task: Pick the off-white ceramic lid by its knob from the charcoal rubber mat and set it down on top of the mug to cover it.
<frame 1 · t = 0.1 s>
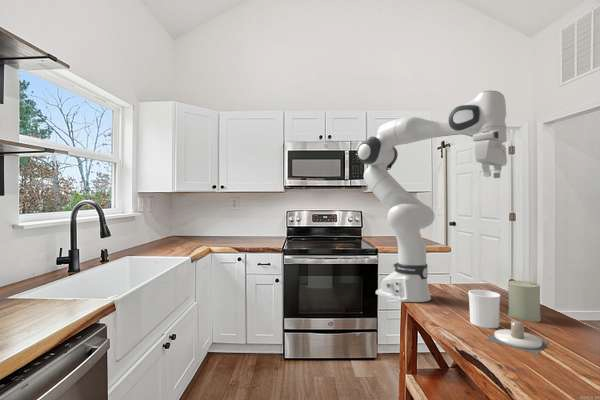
hand: (492, 177, 114), 48 cm above the table, fingers open, 8 cm apart
mat: (517, 343, 91), on the table
can: (524, 317, 112), on the table
mug: (481, 325, 106), on the table
lid: (517, 340, 91), point 1 cm above the table, touching mat
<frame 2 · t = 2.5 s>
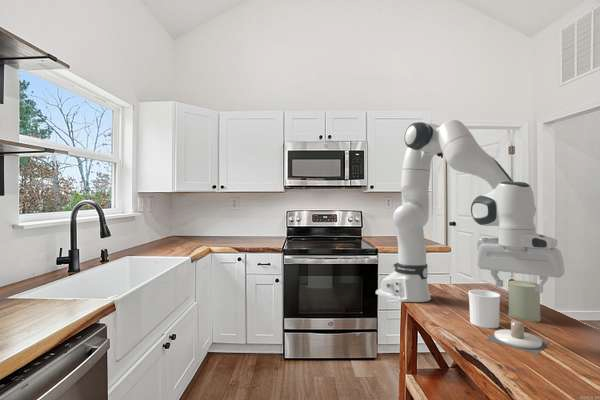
hand: (518, 289, 91), 15 cm above the table, fingers open, 8 cm apart
nothing on the table moved.
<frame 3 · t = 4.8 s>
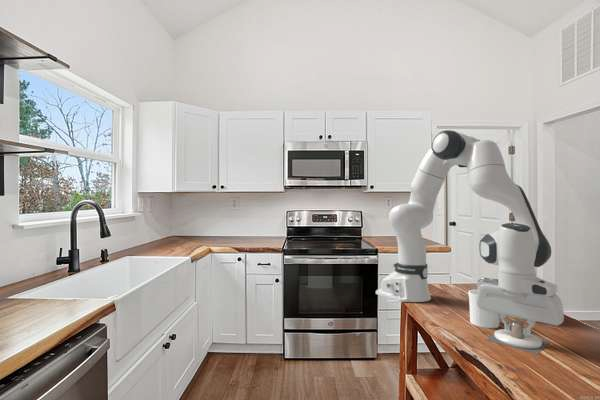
hand: (517, 332, 91), 3 cm above the table, fingers closed on lid, 3 cm apart
lid: (517, 340, 91), point 1 cm above the table, touching gripper, mat
everything else where it was.
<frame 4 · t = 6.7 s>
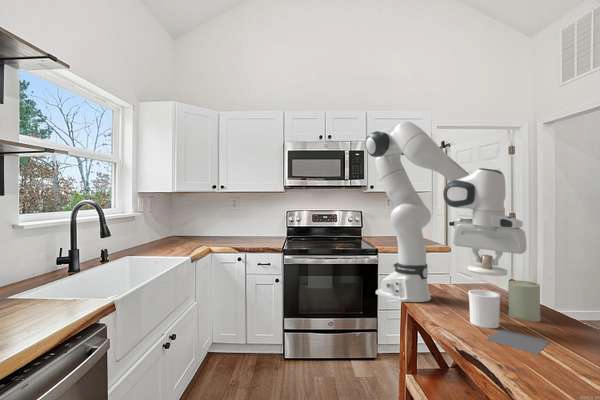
hand: (486, 264, 103), 20 cm above the table, fingers closed on lid, 3 cm apart
lid: (486, 271, 103), point 17 cm above the table, touching gripper
everything else where it was.
when the fingers open (14 cm above the table, at t = 9.0 s): lid drops 1 cm, resting on mug.
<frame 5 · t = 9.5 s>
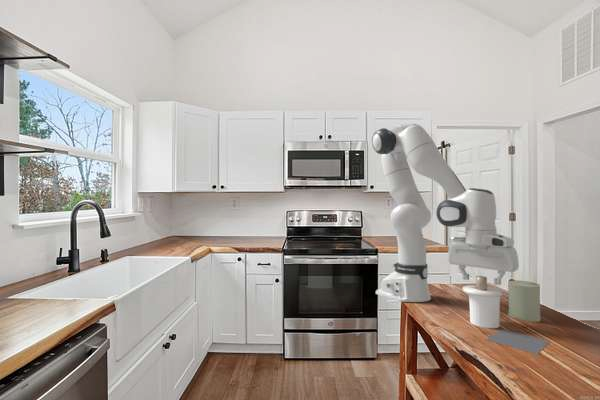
hand: (481, 281, 106), 14 cm above the table, fingers open, 8 cm apart
mug: (482, 325, 106), on the table, touching lid
lid: (481, 292, 106), point 10 cm above the table, touching mug
everything else where it was.
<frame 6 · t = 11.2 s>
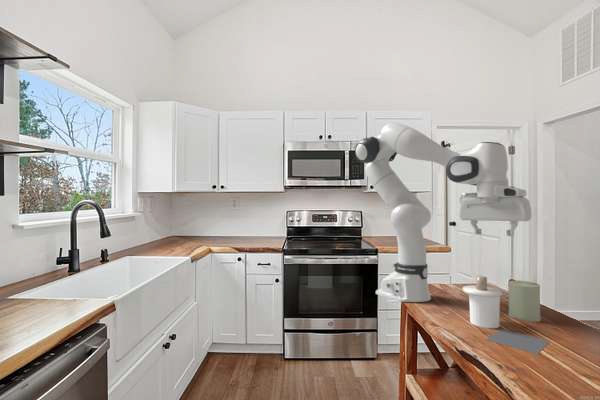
hand: (493, 235, 106), 29 cm above the table, fingers open, 8 cm apart
nothing on the table moved.
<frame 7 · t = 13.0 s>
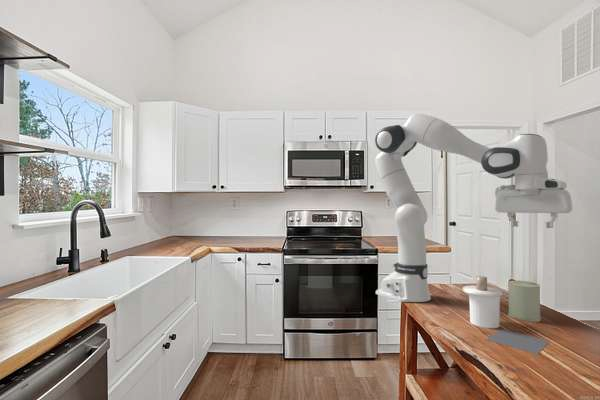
hand: (531, 227, 106), 31 cm above the table, fingers open, 8 cm apart
nothing on the table moved.
at the end: lid 0.1 cm from the mug (horizontally); lid point 10.2 cm above the table; lid touching mug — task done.
